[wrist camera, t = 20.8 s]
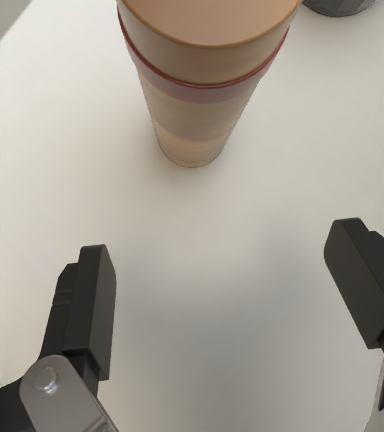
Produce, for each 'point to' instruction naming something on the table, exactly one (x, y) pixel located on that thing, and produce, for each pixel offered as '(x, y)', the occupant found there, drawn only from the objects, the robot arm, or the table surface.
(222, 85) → the red-banded tan cylinder
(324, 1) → the cup
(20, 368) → the table surface
